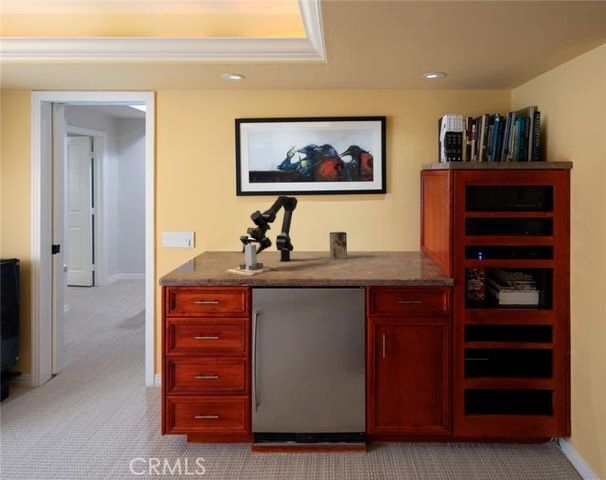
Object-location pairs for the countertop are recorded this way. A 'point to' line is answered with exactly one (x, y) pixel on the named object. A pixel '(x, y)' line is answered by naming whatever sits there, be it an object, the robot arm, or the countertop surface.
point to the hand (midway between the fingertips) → (249, 253)
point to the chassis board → (251, 269)
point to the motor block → (250, 255)
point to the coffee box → (338, 245)
